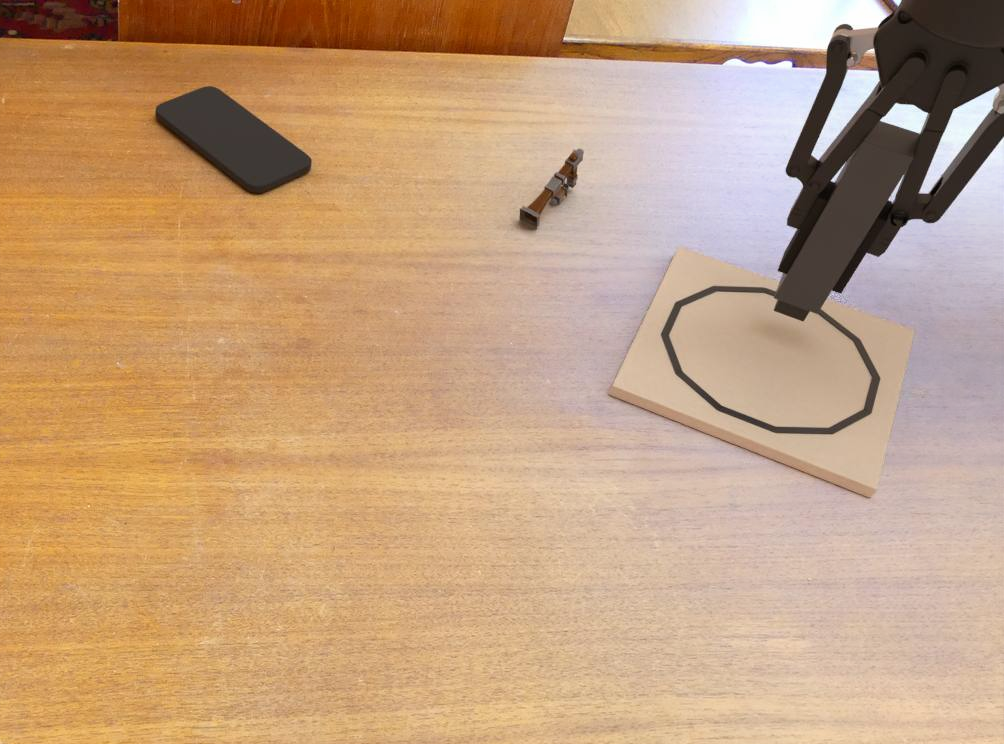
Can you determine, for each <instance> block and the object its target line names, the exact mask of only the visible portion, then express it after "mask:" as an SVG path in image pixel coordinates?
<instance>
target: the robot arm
mask: <svg viewBox="0 0 1004 744" xmlns="http://www.w3.org/2000/svg"><path fill="white" fill-rule="evenodd" d="M869 50H874V56H875V57H874V58H875V62H876V68H877V74H878V79H879V81H878V82H877V83H876V84H875V86H874V88H873V90H872V91H871V93H870V94H869V95H868V96H867V98H866V99H865V100H864V102H863V103H862V104H861V105H860V107H859V108H858V109H857V111H856V112H855V113H854V115H853V116H852V117H851V118H850V119H849V121H848V122H847V123H846V125H845V126H844V127H843V128H842V130H841V131H840V132H839V133H838V134H837V136H836V137H835V139H834V140H833V141H832V142H831V143H830V145H829V146H828V147H827V148H826V150H825V151H824V153H822V155H821V156H820V157H819V158H818V159H817V158H816V157H815V156H813V155H812V154H813V151H814V149H815V147H816V145H817V142H818V140H819V138H820V136H821V134H822V131H823V129H824V127H825V124H826V123H827V120H828V118H829V116H830V113H831V111H832V109H833V107H834V104H835V102H836V100H837V97H838V95H839V94H840V91H841V89H842V86H843V84H844V81H845V78H846V76H847V74H848V70H849V68H853V67H856V66H858V65H859V64H860V63H861V62H862V60H863V57H864V55H865V54H866V53H867V52H868V51H869ZM825 65H826V67H825V75H824V78H823V80H822V82H821V85H820V87H819V90H818V91H817V94H816V96H815V99H814V101H813V103H812V106H811V108H810V110H809V113H808V115H807V117H806V119H805V122H804V125H802V129H801V130H800V134H799V136H798V138H797V141H796V143H795V145H794V147H793V150H792V152H791V154H790V156H789V159H788V162H787V164H786V167H785V174H786V176H788V177H789V178H794V179H795V178H796V179H797V180H798V181H800V183H801V184H802V188H801V189H800V192H799V193H798V195H797V197H796V199H795V201H794V202H793V204H792V206H791V208H790V211H789V212H788V215H787V218H786V226H787V227H791V228H793V229H796V230H795V232H794V234H793V235H792V237H791V239H790V241H789V242H788V244H787V247H786V248H785V250H784V252H783V255H782V257H781V260H780V263H779V265H778V267H777V272H779V273H782V274H783V273H784V274H787V273H788V271H789V269H790V268H791V266H792V264H793V262H794V261H795V259H796V257H797V255H798V254H799V252H800V250H801V248H802V247H803V245H804V243H805V241H806V240H807V238H808V236H809V234H810V233H811V231H812V229H813V227H814V226H815V224H816V222H817V220H818V219H819V217H820V215H821V213H822V212H823V210H824V208H825V206H826V205H827V203H828V201H829V198H830V195H831V192H832V189H833V187H834V184H835V181H832V180H833V179H834V178H835V176H836V175H837V174H838V173H839V171H841V170H842V168H843V167H844V165H845V163H846V161H847V160H848V159H849V158H850V157H851V155H852V154H853V153H854V152H855V150H856V149H857V148H858V147H859V146H860V144H861V143H862V141H863V139H864V138H866V137H867V136H868V134H869V133H870V132H871V131H872V130H873V128H874V127H875V126H876V125H877V123H878V122H879V121H882V119H883V118H885V117H886V116H887V114H889V112H890V111H891V110H892V109H893V107H894V106H895V105H896V104H898V105H907V106H908V105H909V106H915V107H916V108H917V109H919V110H920V111H922V112H924V113H926V117H925V120H924V122H923V124H922V127H921V130H920V132H919V133H920V135H919V138H918V141H917V145H916V149H915V152H914V154H915V156H914V159H913V161H912V162H911V164H910V165H909V167H908V169H907V170H906V172H905V173H904V175H903V177H902V178H901V180H900V182H899V186H898V188H897V191H896V193H895V197H894V199H893V200H892V201H891V200H888V201H887V202H886V204H885V206H884V207H883V209H882V210H881V212H880V214H879V215H878V217H877V219H876V220H875V222H874V223H873V225H872V227H871V228H870V230H869V231H868V233H867V235H866V236H865V238H864V239H863V241H862V243H861V244H860V246H859V248H858V249H857V251H856V252H855V254H854V256H853V257H852V259H851V260H850V262H849V264H848V265H847V267H846V268H845V270H844V272H843V273H842V275H841V277H840V278H839V280H838V281H837V283H836V285H835V286H834V288H833V289H832V291H831V292H835V293H838V294H842V293H843V291H844V290H845V289H846V286H847V285H848V284H849V282H850V280H851V278H852V277H853V275H854V274H855V273H856V271H857V269H858V267H859V266H860V264H861V263H862V261H863V260H864V258H865V256H866V255H867V254H869V255H872V256H874V257H877V258H879V257H881V256H882V255H883V254H885V253H886V251H887V250H888V248H889V247H890V246H891V243H892V242H893V241H894V239H895V238H896V236H897V235H898V234H899V232H900V230H901V228H904V227H905V226H906V225H907V224H908V222H909V221H912V220H921V221H922V222H924V223H925V224H934V223H937V222H938V221H939V220H941V218H942V217H943V216H944V214H945V213H946V212H947V211H948V210H949V208H950V207H951V205H952V204H953V203H954V201H955V200H956V199H957V198H958V196H959V195H960V194H961V192H963V190H964V189H965V187H966V186H967V185H968V183H969V182H970V181H971V180H972V178H973V177H974V176H975V175H976V173H977V172H978V171H979V169H981V167H982V166H983V165H984V163H985V162H986V161H987V159H988V158H989V156H990V155H991V154H992V153H993V152H994V150H995V149H996V148H997V147H998V145H999V144H1000V143H1001V141H1002V140H1003V138H1004V0H900V2H899V4H898V5H897V7H896V8H895V9H894V11H893V12H891V13H890V14H889V15H888V16H886V17H885V18H884V19H882V20H881V22H880V23H879V24H878V26H876V27H867V28H857V29H854V28H853V26H852V25H850V24H849V23H843V24H839V25H838V26H837V27H835V29H834V31H833V32H832V35H831V38H830V40H829V43H828V44H827V48H826V64H825ZM996 88H998V89H999V90H998V91H997V93H996V94H995V95H994V97H993V102H992V108H991V109H990V111H989V112H988V113H987V115H986V116H985V117H984V118H983V120H982V121H981V122H980V124H979V125H978V126H977V128H976V129H975V131H973V133H972V134H971V136H970V137H969V139H968V140H967V141H966V142H965V143H964V145H963V146H962V147H961V148H960V150H959V152H958V153H957V154H956V156H955V157H954V158H953V159H952V161H951V162H950V164H949V165H948V166H947V168H946V169H945V171H944V172H943V173H942V174H941V176H940V177H939V178H938V179H937V181H936V182H935V184H934V185H933V186H932V187H931V189H930V190H929V191H928V192H927V193H923V192H921V189H922V186H923V184H924V181H925V179H926V176H927V175H928V172H929V169H930V167H931V164H932V162H933V160H934V156H935V155H936V152H937V149H938V148H939V145H940V143H941V140H942V137H943V136H944V133H945V131H946V130H947V127H948V124H949V122H950V120H951V117H952V114H953V113H954V110H956V109H957V108H960V107H962V106H964V105H965V104H967V103H969V102H971V101H973V100H975V99H977V98H979V97H981V96H983V95H984V94H986V93H989V92H990V91H992V90H994V89H996ZM920 192H921V193H920Z"/></svg>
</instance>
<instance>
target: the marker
mask: <svg viewBox="0 0 1004 744" xmlns="http://www.w3.org/2000/svg"><path fill="white" fill-rule="evenodd" d="M919 135H920V132H916V131H913V130H910V129H907V128H904V127H901V126H898V125H894V124H891V123H889V122H885V121H882V120H880V121H879V122H878V123H877V125H876V126H875V127H874V128H873V130H872V131H871V132H870V133H869V134H868V136H867V137H866V138H864V139H863V141H862V143H861V144H860V146H859V147H858V148H857V149H856V150H855V152H854V153H853V154H852V155H851V157H850V158H849V159H848V160H847V161H846V163H845V164H844V165H843V166H842V168H841V169H840V172H839V173H838V175H837V178H836V179H835V181H834V182H835V184H834V187H833V189H832V192H831V195H830V198H829V201H828V203H827V205H826V206H825V208H824V210H823V212H822V213H821V215H820V217H819V219H818V220H817V222H816V224H815V226H814V227H813V229H812V231H811V233H810V234H809V236H808V238H807V240H806V241H805V243H804V245H803V247H802V248H801V250H800V252H799V254H798V255H797V257H796V259H795V261H794V262H793V264H792V266H791V268H790V269H789V271H788V273H787V274H784V273H782V274H781V277H780V280H779V285H778V288H777V291H776V293H775V296H774V299H777V302H776V305H775V308H774V311H775V312H778V313H781V314H784V315H786V316H789V317H792V318H795V319H797V320H800V321H804V320H805V319H806V317H807V315H808V314H809V312H813V313H816V314H818V312H819V310H820V309H821V307H822V306H823V304H824V302H825V301H826V299H828V298H829V296H830V295H831V293H832V292H833V291H832V289H833V288H834V286H835V285H836V283H837V281H838V280H839V278H840V277H841V275H842V273H843V272H844V270H845V268H846V267H847V265H848V264H849V262H850V260H851V259H852V257H853V256H854V254H855V252H856V251H857V249H858V248H859V246H860V244H861V243H862V241H863V239H864V238H865V236H866V235H867V233H868V231H869V230H870V228H871V227H872V225H873V223H874V222H875V220H876V219H877V217H878V215H879V214H880V212H881V210H882V209H883V207H884V206H885V204H886V202H887V201H889V199H890V198H891V196H892V194H893V193H894V191H895V190H896V188H897V187H898V185H899V184H900V182H901V181H902V178H903V176H904V173H905V172H906V170H907V169H908V167H909V165H910V164H911V162H912V161H913V159H914V156H915V154H914V152H915V149H916V145H917V141H918V138H919Z"/></svg>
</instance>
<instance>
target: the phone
mask: <svg viewBox="0 0 1004 744" xmlns="http://www.w3.org/2000/svg"><path fill="white" fill-rule="evenodd" d="M155 117H156V120H158V122H160V123H161V124H163V126H165V127H167V128H168V129H169V130H170V131H171V132H173V133H174V134H176V135H177V136H178V137H179V138H180V139H182V140H183V141H184V142H186V143H187V144H188V145H190V147H192V148H193V149H194V150H196V151H197V152H199V153H200V154H201V155H202V156H204V157H205V158H206V159H207V160H208V161H210V162H211V163H212V164H213V165H215V166H216V168H218V169H220V170H221V171H222V172H224V173H225V174H226V175H227V176H228V177H230V178H231V179H232V180H234V181H235V182H236V183H238V184H239V185H240V186H241V187H242V188H244V189H245V190H247V191H249V192H251V193H255V194H261V193H264V192H267V191H269V190H272V189H274V188H276V187H278V186H281V185H283V184H284V183H287V182H289V181H291V180H293V179H295V178H298V177H300V176H302V175H305V174H306V173H308V172H310V170H311V169H312V163H313V161H312V158H311V157H310V155H308V154H307V153H306V152H305V151H304V150H302V149H300V148H299V147H298V146H297V145H295V144H294V143H292V142H291V141H290V140H289V139H287V138H286V137H285V136H283V135H282V134H280V133H279V132H278V131H277V130H275V129H274V128H272V127H271V126H269V125H268V124H267V123H265V122H264V121H263V120H261V119H260V118H259V117H257V116H256V115H255V114H254V113H253V112H251V111H250V110H248V109H246V108H245V107H244V106H243V105H241V104H240V103H239V102H238V101H236V100H235V99H234V98H232V97H231V96H229V95H228V94H227V93H225V92H224V91H222V90H221V89H220V88H218V87H216V86H211V85H207V86H202V87H199V88H196V89H194V90H191V91H189V92H187V93H184V94H182V95H179V96H176V97H174V98H171V99H169V100H166V101H164V102H161V103H159V104H157V105H156V107H155Z"/></svg>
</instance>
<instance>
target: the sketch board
mask: <svg viewBox="0 0 1004 744" xmlns="http://www.w3.org/2000/svg"><path fill="white" fill-rule="evenodd" d="M779 282H780V280H776V279H773V278H771V277H768V276H766V275H762V274H759V273H757V272H754V271H751V270H749V269H746V268H743V267H740V266H737V265H734V264H732V263H729V262H726V261H723V260H720V259H717V258H715V257H712V256H709V255H706V254H704V253H701V252H698V251H695V250H693V249H691V248H687V247H684V246H681V245H678V247H677V249H676V250H675V253H674V256H673V257H672V259H671V261H670V263H669V265H668V268H667V269H666V272H665V274H664V276H663V277H662V280H661V282H660V284H659V287H658V288H657V290H656V292H655V295H654V297H653V299H652V301H651V303H650V306H649V307H648V309H647V311H646V314H645V315H644V318H643V319H642V322H641V324H640V326H639V327H638V330H637V332H636V334H635V337H634V339H633V341H632V343H631V344H630V347H629V349H628V350H627V353H626V355H625V357H624V360H623V362H622V363H621V366H620V368H619V370H618V372H617V374H616V376H615V378H614V380H613V382H612V385H611V386H610V389H609V391H608V396H611V397H614V398H616V399H619V400H621V401H623V402H627V403H630V404H632V405H634V406H637V407H639V408H641V409H644V410H646V411H649V412H652V413H653V414H654V413H655V414H657V415H659V416H661V417H665V418H667V419H669V420H672V421H675V422H677V423H679V424H682V425H684V426H687V427H690V428H692V429H695V430H696V431H697V430H698V431H699V432H702V433H705V434H707V435H710V436H712V437H715V438H717V439H720V440H722V441H725V442H727V443H730V444H733V445H735V446H737V447H741V448H742V449H745V450H747V451H750V452H752V453H755V454H758V455H761V456H763V457H766V458H768V459H770V460H773V461H776V462H778V463H781V464H783V465H786V466H788V467H790V468H793V469H796V470H798V471H801V472H803V473H806V474H808V475H811V476H813V477H815V478H818V479H821V480H824V481H827V482H828V483H831V484H833V485H837V486H838V487H841V488H844V489H846V490H849V491H852V492H854V493H857V494H859V495H861V496H864V497H867V498H869V499H871V498H872V497H873V496H874V495H875V493H876V492H877V491H878V488H879V485H880V484H879V483H880V481H881V477H882V476H881V475H882V471H883V466H884V463H885V458H886V454H887V450H888V447H889V441H890V437H891V434H892V429H893V426H894V421H895V417H896V412H897V409H898V404H899V401H900V400H899V399H900V397H901V396H900V395H901V392H902V388H903V384H904V379H905V374H906V371H907V366H908V362H909V358H910V354H911V351H912V345H913V340H914V338H915V333H916V330H915V329H913V328H910V327H908V326H905V325H902V324H899V323H896V322H894V321H891V320H888V319H886V318H882V317H880V316H876V315H874V314H872V313H869V312H865V311H863V310H860V309H857V308H855V307H851V306H849V305H847V304H844V303H841V302H837V301H835V300H832V299H829V298H827V299H826V301H825V302H824V304H823V306H822V307H821V309H820V310H819V312H818V314H816V313H813V312H809V314H808V315H807V317H806V319H805V320H804V321H800V320H797V319H795V318H792V317H789V316H786V315H784V314H781V313H778V312H775V311H774V308H775V305H776V302H777V299H774V296H775V293H776V291H777V288H778V285H779Z"/></svg>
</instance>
